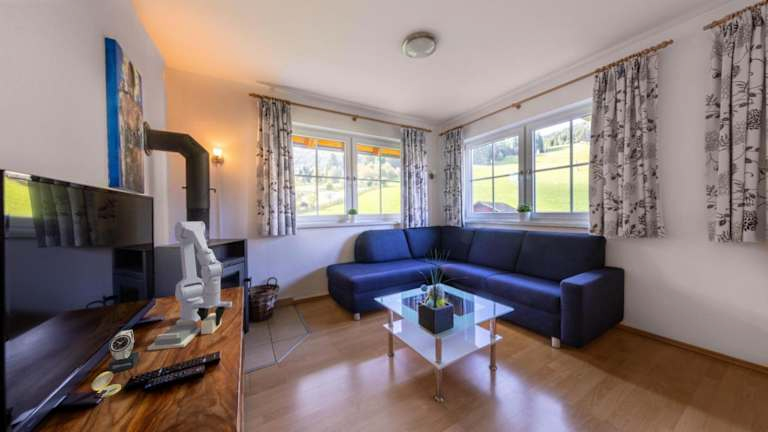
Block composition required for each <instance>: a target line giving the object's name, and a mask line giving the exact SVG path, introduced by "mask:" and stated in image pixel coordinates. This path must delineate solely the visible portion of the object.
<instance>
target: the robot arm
mask: <svg viewBox="0 0 768 432" xmlns="http://www.w3.org/2000/svg"><path fill="white" fill-rule="evenodd" d="M205 234H206V224H205V223H204V221H202V220H199V221H181V220H179V221H177V222H176V224H175V226H174V236H175V237H174V238H175V241H177V242H179V246H180V247H179V248H180V258H181V269H182V279H181V280H180V281H178V283H176V284H175V291H174V292H175V293H174V294H175V295H174V296H175V299H176V301H178V302H180V304H179V305H180V306H179V307H180V308H179V309H180V315H179V319H177V321H185V320H194V323H197V322H199V320H201V322H202V321H203V320H204V319H205V318H206V317H207V316H208V315H209V309H215V311H214V313H216V326H218V325H219V324H220V321H221V322H222V318H223V317H222V316H223V315H224V312H225V310H226V308H228V309H230V308H232V307H233V301H222V300H221V281H222V280H221V277H223V275H224V271H225V270H224V269H225V268H224V264H223V263H222V262H220V260H217V258H216V256H215V253H214V251H213V249H211V248H209V247H208V244H207V241H206V237H205ZM195 249H196V250H197V253H195ZM196 257H197V259H198V262H199V264H200V267H201V269H200V275H201V278H200V277H199V276H198V275H197V273H198V272H197V264H196Z"/></svg>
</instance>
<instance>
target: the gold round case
mask: <svg viewBox="0 0 768 432" xmlns="http://www.w3.org/2000/svg"><path fill="white" fill-rule="evenodd" d="M113 377H114V372H113V373H112V372H108V371H105V372H102V373H99V375H98V376H97V377H95V379H94V380H93V381H92V383H91V387H90V388H91V389H92V390H93V391H97V392H96V394H97V393H103V395H102V396H103V398H107V397H111V396H112V395H115V394H117V393H118V392H119V391H121V389H122V385H121V384H119V383H115V384H110V383H111V381H112V380H113ZM109 384H110V385H109Z"/></svg>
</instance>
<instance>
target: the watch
mask: <svg viewBox="0 0 768 432" xmlns="http://www.w3.org/2000/svg"><path fill="white" fill-rule="evenodd" d="M134 343H135V339H134V332H133V329H127V330H120V332H118V333H117V334H116V335H115V336H114V338H113V339H111V340H110V342H109V345H108V348H109V350H110V352H111V355H112V356H113V357H112V358H111V360H110V361H109V362H108V371H107V372H112V373H113V374H114V373H118V372H123V371H127V370H132V369H134V368H135V367H136V365H137V364H138V362H140V360H139V357H140V356H139V352H140V351H135V352H132V351H133V348H134Z"/></svg>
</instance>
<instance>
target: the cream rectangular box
mask: <svg viewBox="0 0 768 432" xmlns="http://www.w3.org/2000/svg"><path fill="white" fill-rule="evenodd" d="M200 323H201V324H200V325H201V326H200V327H201V331H200V335H211V334H214V332H216V331H217V329H218V328H219V327H220V326H221V325H222V320H221V321H220V324H219V325H218V326H216V313H215V312H211V313H208V316H207V317H206V318H205V319H204V320H203V321H202V320H201V322H200Z"/></svg>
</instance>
